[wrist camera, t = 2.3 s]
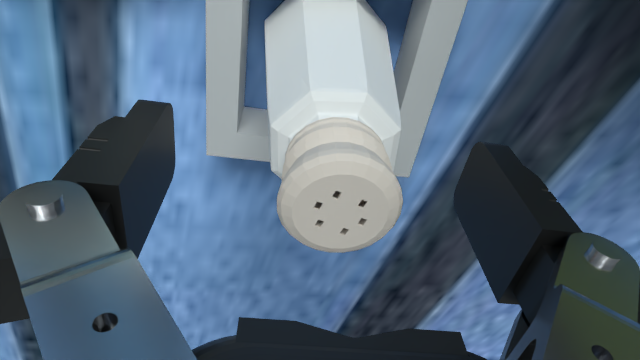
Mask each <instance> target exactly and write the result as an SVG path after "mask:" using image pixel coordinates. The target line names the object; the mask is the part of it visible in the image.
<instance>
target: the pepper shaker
mask: <svg viewBox="0 0 640 360" xmlns="http://www.w3.org/2000/svg"><path fill="white" fill-rule="evenodd" d="M264 23H265V61H266V88H267V112H268V135H269V158H270V165H271V171H272V172H274V173H275V174H276V175H277V176H278V177H280V178H281V179H282V183H281V186H280V189H279V192H278V196H277V213H278V216H279V218H280V221H281V224H282V225H283V226H284V228H285V229H286V230H287V232H288V233H289V234H290V235H291V236H293V237H294V238H295V239H297V240H298V241H299V242H301V243H302V244H304V245H306V246H309V247H311V248H313V249H316V250H320V251H325V252H341V253H343V252H349V251H355V250H359V249H362V248H364V247H367V246H370V245H372V244H373V243H375V242H376V241H378V240H379V239H381V238H382V237H383V236H384V235H385V234H386V233H387V232H388V231H389V230H390V229H391V228H392V227H393V226H394V225H395V223H396V221H397V219H398V218H399V216H400V214H401V209H402V204H403V198H402V190H401V187H400V184H399V182H398V180H397V178H396V176H395V174H394V172H393V171H394V166H395V161H396V156H397V150H398V145H399V139H400V133H401V120H400V110H399V104H398V98H397V91H396V85H395V79H394V72H393V66H392V60H391V53H390V47H389V41H388V34H387V28H386V25H385V24H384V23H383V21H382V20H381V19H380V18H379V16H378V15H377V14H376V13H375V11H374V10H373V9H372V8H371V6H370V5H369V4H368V3H367V1H366V0H285V1H284V2H283V3H282V4H281V5H280V6H279V7H278V8H277V9H276V10H275V11H274V12H273V13H272V14H271V15H270V16H269V17H268V18H267V19H266V20H265V21H264Z"/></svg>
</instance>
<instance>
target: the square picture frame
mask: <svg viewBox="0 0 640 360" xmlns="http://www.w3.org/2000/svg"><path fill="white" fill-rule="evenodd" d="M467 1H468V0H413V2H412V6H411V9H410V13H409V17H408V21H407V25H406V28H405V32H404V36H403V40H402V44H401V48H400V51H399V55H398V59H397V63H396V67H395V70H394V79H395V85H396V91H397V98H398V104H399V110H400V120H401V133H400V139H399V145H398V150H397V156H396V161H395V166H394V171H393V172H394V174H395V176H400V177H409V176H410V173H411V170H412V167H413V164H414V161H415V158H416V155H417V152H418V149H419V146H420V143H421V140H422V137H423V134H424V131H425V128H426V125H427V122H428V119H429V116H430V113H431V110H432V107H433V104H434V101H435V98H436V95H437V92H438V89H439V86H440V83H441V80H442V77H443V74H444V71H445V68H446V65H447V62H448V59H449V56H450V53H451V50H452V47H453V44H454V41H455V38H456V35H457V32H458V29H459V26H460V23H461V20H462V17H463V13H464V10H465V7H466V4H467ZM249 3H250V0H206V150H207V155H211V156H220V157H229V158H238V159H247V160H256V161H265V162H270V158H269V135H268V112H267V109H260V108H252V107H244V100H245V81H246V61H247V42H248V22H249Z"/></svg>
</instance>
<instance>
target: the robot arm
mask: <svg viewBox="0 0 640 360" xmlns="http://www.w3.org/2000/svg"><path fill="white" fill-rule="evenodd" d="M174 169H175V140H174V119H173V108H172V105H171V104H170V103H164V102H156V101H147V100H138V101H137V102H136V103H135V105H134V106H133V107H132V109H131V110H130V111H129V113H128V114H127V115H126V117H117V116H115V117H113V118H111V119H109V120H107V121H105V122H103V123H101V124H99V125H97V127H96V128H95V129H94V130H93V131H92V133H91V134H90V135H89V136H88V140H85V141H84V142H83V143H82V145H81V146H80V149H79V150H78V149H77V151H76V152H75V153H74V154H73V155H72V157H71V158H70V159H69V160H68V161H67V163H66V164H65V165H64V166H63V167H62V169H61V170H60V171H59V172H58V173H57V175H56V176H55V177H54V178H53V179H52V180H50V181H42V182H36V183H33V184H29V185H26V186H24V187H21V188H19V189H17V190H15V191H13V192H12V193H10V194H9V195H8V196H6V197H5V198H4V199H3V200H2V202H1V203H0V324H2V323H7V322H13V321H18V320H23V319H28V318H30V319H31V322H32V325H33V329H34V332H35V335H36V338H37V341H38V344H39V347H40V350H41V353H42V357H43V360H487V359H485V358H483V357H481V356H478V355H476V354H473V353H471V352H468V351H466V348H465V345H464V342H463V339H462V336H461V333H460V332H450V331H435V330H420V329H404V330H398V331H393V332H387V333H382V334H377V335H371V336H366V337H360V338H352V337H348V336H344V335H341V334H338V333H334V332H331V331H328V330H324V329H321V328H317V327H314V326H311V325H307V324H304V323H301V322H297V321H287V320H272V319H257V318H242V317H239V321H238V328H237V335H234V336H229V337H224V338H221V339H217V340H214V341H211V342H208V343H206V344H204V345H201V346H199V347H197V348H195V349H193V350H191V349H190V347H189V345H188V344H187V342H186V340H185V338H184V337H183V335H182V333H181V332H180V330H179V328H178V327H177V325H176V323H175V322H174V320H173V318H172V317H171V315H170V313H169V312H168V310H167V308H166V307H165V305H164V303H163V301H162V300H161V298H160V296H159V295H158V293H157V291H156V290H155V288H154V286H153V285H152V283H151V281H150V280H149V278H148V276H147V275H146V273H145V271H144V269H143V268H142V266H141V264H140V263H139V261H138V257H139V255H140V252H141V250H142V248H143V245H144V243H145V241H146V239H147V236H148V234H149V232H150V229H151V227H152V225H153V222H154V220H155V218H156V216H157V213H158V211H159V209H160V206H161V204H162V202H163V199H164V197H165V195H166V193H167V190H168V188H169V186H170V183H171V181H172V178H173V174H174ZM556 200H557V199H556V198H555V197H554V196H553V194H552V193H551V192H548V188H547V187H546V185H545V184H544V183H543V182H542V180H541V179H540V178H539V177H538V176H537V175H536V174H534V173H533V172H532V171H530V170H529V169H528V168H526V167H525V166H523V165H522V163H521V162H520V161H519V159H518V158H517V157H516V156H515V154H514V153H513V152H512V150H511V149H510V148H509V147H508V146H507V145H501V144H493V143H485V142H478V143H476V144H475V145H474V147H473V148H472V150H471V152H470V155H469V157H468V160H467V162H466V164H465V167H464V169H463V172H462V174H461V176H460V179H459V181H458V184H457V186H456V189H455V193H454V208H455V211H456V213H457V215H458V217H459V220H460V222H461V224H462V226H463V228H464V230H465V233H466V235H467V237H468V239H469V241H470V243H471V246H472V248H473V250H474V252H475V254H476V256H477V259H478V261H479V263H480V265H481V267H482V269H483V272H484V274H485V276H486V278H487V280H488V282H489V285H490V287H491V289H492V291H493V293H494V295H495V298H496V300H497V302H498V303H506V304H519V305H520V306H521V308H522V309H521V311H520V312H519V314H518V315H517V317H516V319H515V321H514V323H513V326H512V329H511V331H510V334H509V337H508V339H507V342H506V344H505V347H504V350H503V352H502V355H501V358H500V360H640V269H639V266H638V264H637V262H636V261H635V260H634V258H633V257H632V256H631V255H630V254H629V253H628V252H626V251H625V250H624V249H623V248H621V247H620V246H618V245H617V244H615V243H613V242H612V241H610V240H608V239H606V238H603V237H601V236H598V235H595V234H591V233H584V232H582V231H581V229H580V228H579V227H578V226H577V224H576V223H575V222H574V221H573V219H572V218H571V217H570V216H569V214H568V213H567V212H566V211H565V209H564V208H563V207H562V206H561V204H560V203H559V202H556Z"/></svg>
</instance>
